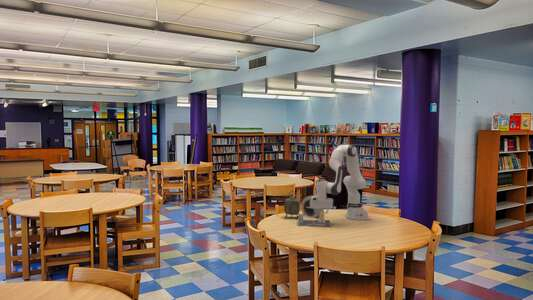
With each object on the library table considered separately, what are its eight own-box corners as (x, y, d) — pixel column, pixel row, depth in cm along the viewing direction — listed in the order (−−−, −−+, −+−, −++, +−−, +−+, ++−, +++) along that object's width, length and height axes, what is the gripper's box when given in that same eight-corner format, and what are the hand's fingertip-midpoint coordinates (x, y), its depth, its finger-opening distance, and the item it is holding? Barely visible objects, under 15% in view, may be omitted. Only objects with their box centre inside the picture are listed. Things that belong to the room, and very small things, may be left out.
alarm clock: (300, 214, 373) (301, 194, 372) (306, 213, 378) (306, 193, 377) (318, 218, 358) (318, 197, 357) (323, 217, 363) (323, 196, 362)
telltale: (314, 223, 333) (314, 220, 333) (314, 224, 331) (314, 220, 331) (312, 223, 333) (312, 220, 333) (312, 224, 331) (312, 220, 331)
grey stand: (324, 221, 341) (325, 210, 340) (325, 224, 330) (326, 213, 329) (304, 221, 342) (304, 209, 342) (304, 224, 331) (304, 212, 331)
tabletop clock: (299, 217, 363) (300, 190, 362) (299, 219, 354) (300, 192, 353) (284, 216, 365) (284, 190, 363) (283, 218, 356) (284, 191, 354)
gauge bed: (329, 222, 345) (330, 214, 345) (331, 227, 329) (331, 218, 329) (298, 221, 347) (298, 213, 347) (298, 225, 331) (298, 217, 331)
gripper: (332, 197, 339) (332, 212, 340) (309, 196, 340) (309, 212, 341) (333, 198, 333) (333, 214, 334) (309, 198, 334) (309, 214, 335)
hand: (321, 213), depth 337 cm, fingers open, 8 cm apart
